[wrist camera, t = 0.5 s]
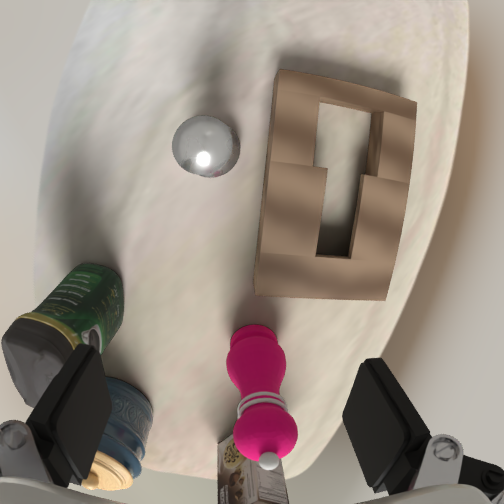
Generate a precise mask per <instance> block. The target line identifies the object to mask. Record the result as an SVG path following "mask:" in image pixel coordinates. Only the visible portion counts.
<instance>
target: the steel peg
mask: <svg viewBox="0 0 504 504" xmlns="http://www.w3.org/2000/svg"><path fill="white" fill-rule="evenodd" d="M172 151H173V155H174V157H175V159H176V161H177V163H178V164H179V165H180V166H181V167H182V168H183V169H184V170H186V171H188V172H190V173H193V174H198V175H200V176H203V177H218V176H221V175H224V174H225V173H227V172H228V171H230V170H231V169H232V168H233V167H234V165H235V164H236V162H237V160H238V158H239V154H240V143H239V139H238V137H237V135H236V133H235V132H234V131H233V130H232V129H231V128H230V127H229V126H227V125H226V124H224V123H223V122H221V121H220V120H218V119H217V118H214V117H211V116H206V115H201V116H195V117H192V118H190V119H188V120H186V121H185V122H183V123H182V124H181V125H180V126H179V128H178V129H177V131H176V132H175V134H174V137H173V141H172Z"/></svg>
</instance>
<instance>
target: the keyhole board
mask: <svg viewBox="0 0 504 504" xmlns="http://www.w3.org/2000/svg"><path fill="white" fill-rule="evenodd" d="M319 102H322V103H328V104H333V105H337V106H342V107H347V108H351V109H356V110H360V111H364V112H368V113H372V114H371V126H370V137H369V147H368V156H367V164H366V173H365V175H364V174H361V177H360V185H359V192H358V199H357V206H356V212H355V218H354V225H353V230H352V236H351V242H350V247H349V253H348V257H345V256H333V255H320V254H316V249H317V242H318V236H319V229H320V223H321V216H322V209H323V201H324V194H325V186H326V178H327V170H328V168H321V167H314V166H313V159H314V150H315V141H316V131H317V121H318V111H319ZM416 112H417V102H415V101H412V100H409V99H406V98H403V97H400V96H397V95H393V94H390V93H387V92H384V91H380V90H377V89H373V88H369V87H366V86H362V85H358V84H354V83H350V82H346V81H342V80H337V79H333V78H328V77H323V76H318V75H313V74H308V73H302V72H296V71H290V70H283V69H280V70H279V71H278V73H277V75H276V77H275V79H274V88H273V98H272V108H271V118H270V127H269V137H268V146H267V156H266V165H265V175H264V184H263V194H262V203H261V213H260V222H259V231H258V241H257V250H256V259H255V268H254V278H253V284H254V290H255V295H256V296H271V297H290V298H312V299H338V300H374V301H385V300H386V297H387V293H388V289H389V285H390V281H391V277H392V273H393V269H394V265H395V260H396V256H397V251H398V247H399V242H400V237H401V232H402V227H403V221H404V216H405V210H406V204H407V198H408V191H409V184H410V177H411V169H412V160H413V151H414V140H415V128H416Z"/></svg>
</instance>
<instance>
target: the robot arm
mask: <svg viewBox="0 0 504 504" xmlns="http://www.w3.org/2000/svg"><path fill="white" fill-rule="evenodd" d="M111 411H112V401H111V398H110V394H109V390H108V386H107V382H106V378H105V373H104V369H103V364H102V360H101V355H100V352H99V351H98V350H96V348H95V346H93V345H88V344H82V343H79V344H78V345H77V346H76V348H75V349H74V351H73V352H72V353H71V355H70V356H69V358H68V359H67V361H66V362H65V364H64V365H63V367H62V368H61V370H60V371H59V373H58V374H57V375H56V376H55V377H54V378H53V379H52V381H51V382H50V384H49V386H48V387H47V389H46V390H45V392H44V393H43V395H42V397H41V398H40V400H39V401H38V403H37V405H36V406H35V408H34V409H33V411H32V413H31V414H30V416H29V418H28V419H27V421H26V423H24V422H22V421H18V420H9V421H6V422H3V423H2V424H1V425H0V504H126V503H121V502H117V501H112V500H108V499H104V498H99V497H96V496H92V495H88V494H84V493H81V492H78V491H74V490H71V489H68V488H67V487H68V485H69V483H73V484H77V485H80V486H81V484H82V481H83V479H84V480H86V479H87V478H88V475H89V472H90V469H91V467H92V464H93V461H94V458H95V455H96V452H97V449H98V446H99V444H100V441H101V438H102V435H103V433H104V430H105V427H106V425H107V422H108V419H109V417H110V414H111ZM342 418H343V422H344V425H345V427H346V430H347V432H348V435H349V438H350V440H351V442H352V445H353V448H354V451H355V453H356V456H357V458H358V461H359V463H360V466H361V469H362V471H363V474H364V477H365V479H366V482H367V485H368V486H369V487H372V488H373V491H374V493H379V492H382V491H386V490H387V491H388V494H389V496H387V497H383V498H379V499H374V500H370V501H365V502H360V503H356V504H504V470H503V469H501V468H500V467H499V466H497V465H494V464H490V463H487V462H484V461H481V460H477V459H474V458H471V457H468V456H465V455H463V447H462V445H461V443H460V442H459V441H458V440H457V439H456V438H454V437H452V436H450V435H446V434H440V435H436V436H434V437H432V436H431V435H430V431H429V429H428V428H427V426H426V425H425V423H424V421H423V420H422V418H421V417H420V415H419V414H418V412H417V411H416V409H415V407H414V406H413V404H412V403H411V401H410V400H409V398H408V397H407V395H406V393H405V392H404V390H403V389H402V387H401V386H400V384H399V383H398V382H397V380H396V378H395V377H394V375H393V374H392V372H391V371H390V369H389V368H388V367H387V365H386V363H385V362H384V361H383V359H382V358H369V359H366V360H365V361H364V363H361V364H360V367H359V370H358V373H357V375H356V378H355V381H354V384H353V387H352V390H351V392H350V395H349V398H348V400H347V403H346V406H345V408H344V411H343V415H342Z"/></svg>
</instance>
